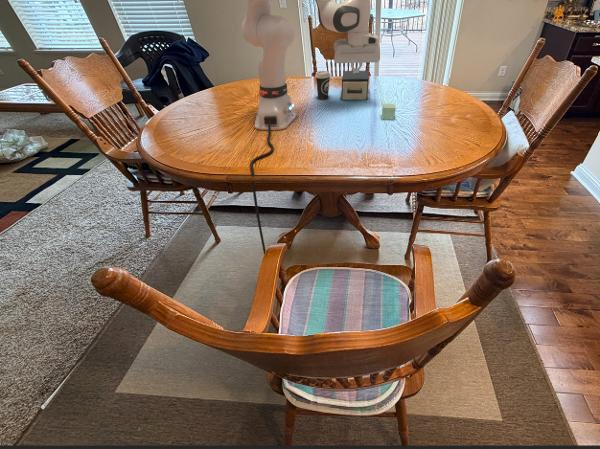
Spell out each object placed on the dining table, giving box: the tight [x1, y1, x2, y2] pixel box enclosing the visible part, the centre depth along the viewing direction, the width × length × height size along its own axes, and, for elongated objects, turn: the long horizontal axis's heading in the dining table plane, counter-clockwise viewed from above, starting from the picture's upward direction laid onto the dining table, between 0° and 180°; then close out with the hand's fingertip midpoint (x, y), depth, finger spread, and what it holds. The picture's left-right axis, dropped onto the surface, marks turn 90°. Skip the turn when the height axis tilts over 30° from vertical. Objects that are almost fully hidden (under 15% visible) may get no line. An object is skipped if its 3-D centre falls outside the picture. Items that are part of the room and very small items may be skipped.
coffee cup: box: [314, 70, 331, 100], centre depth 152 cm, size 8×8×12 cm
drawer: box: [342, 81, 368, 99], centre depth 150 cm, size 18×12×8 cm, turn 171°
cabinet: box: [340, 70, 370, 101], centre depth 154 cm, size 15×13×10 cm
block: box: [381, 103, 397, 121], centre depth 131 cm, size 5×5×5 cm
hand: (356, 73), depth 139 cm, fingers closed
